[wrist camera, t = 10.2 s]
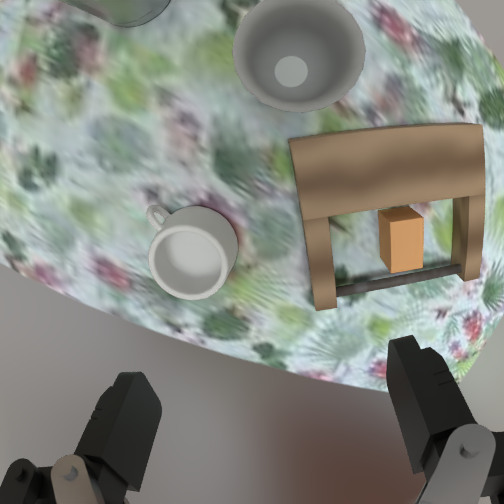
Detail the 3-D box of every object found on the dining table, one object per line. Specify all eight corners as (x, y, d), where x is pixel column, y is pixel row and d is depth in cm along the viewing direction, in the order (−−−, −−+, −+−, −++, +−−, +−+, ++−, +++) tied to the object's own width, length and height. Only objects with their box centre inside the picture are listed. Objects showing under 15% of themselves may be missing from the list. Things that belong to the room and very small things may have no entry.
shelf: (287, 138, 33) (289, 141, 29) (464, 122, 30) (482, 124, 26) (312, 293, 40) (315, 311, 36) (465, 264, 37) (479, 278, 33)
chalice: (278, 41, 28) (282, -29, 12) (332, 75, 30) (388, 38, 13) (240, 94, 31) (206, 70, 15) (294, 128, 32) (316, 138, 16)
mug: (255, 248, 38) (252, 272, 33) (198, 292, 41) (187, 319, 36) (186, 172, 35) (170, 182, 30) (132, 224, 38) (111, 242, 32)
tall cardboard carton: (377, 210, 35) (390, 222, 31) (408, 205, 35) (423, 217, 31) (380, 256, 38) (391, 273, 33) (409, 251, 37) (422, 267, 33)
